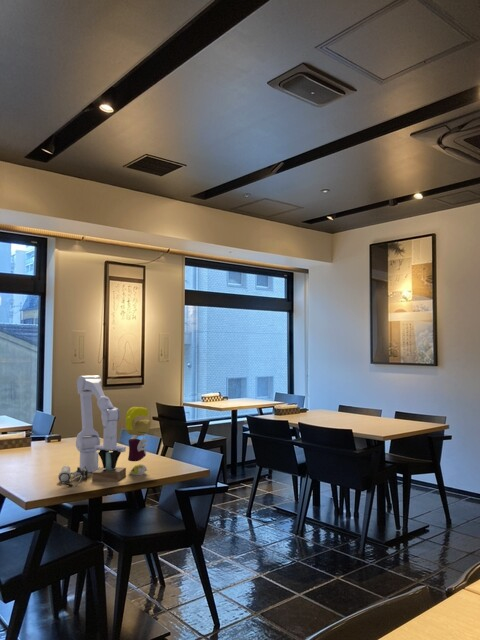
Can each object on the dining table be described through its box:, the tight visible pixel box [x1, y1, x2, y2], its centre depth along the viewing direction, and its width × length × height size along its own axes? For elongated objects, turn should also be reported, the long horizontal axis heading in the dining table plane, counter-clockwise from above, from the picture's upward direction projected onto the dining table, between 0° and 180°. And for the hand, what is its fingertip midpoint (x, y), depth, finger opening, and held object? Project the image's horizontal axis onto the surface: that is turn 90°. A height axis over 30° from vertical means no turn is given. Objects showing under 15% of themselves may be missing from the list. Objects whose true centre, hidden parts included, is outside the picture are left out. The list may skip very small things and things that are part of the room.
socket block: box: [91, 466, 127, 482], centre depth 220 cm, size 11×11×4 cm
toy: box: [124, 406, 152, 476], centre depth 234 cm, size 22×12×30 cm, turn 9°
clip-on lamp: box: [57, 464, 89, 487], centre depth 213 cm, size 12×6×18 cm
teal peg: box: [106, 451, 114, 471], centre depth 221 cm, size 4×4×9 cm
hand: (109, 467), depth 220 cm, fingers closed on teal peg, 3 cm apart
